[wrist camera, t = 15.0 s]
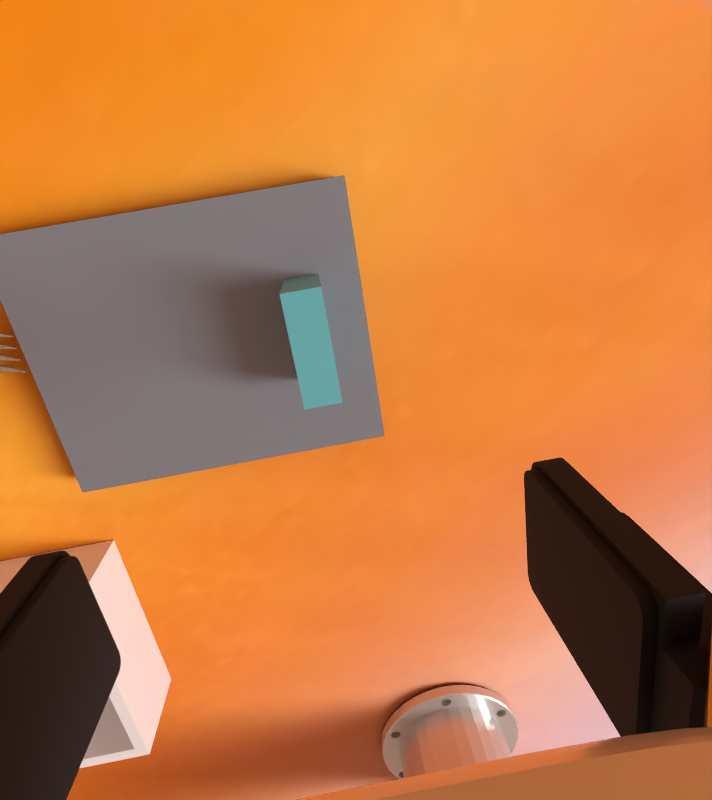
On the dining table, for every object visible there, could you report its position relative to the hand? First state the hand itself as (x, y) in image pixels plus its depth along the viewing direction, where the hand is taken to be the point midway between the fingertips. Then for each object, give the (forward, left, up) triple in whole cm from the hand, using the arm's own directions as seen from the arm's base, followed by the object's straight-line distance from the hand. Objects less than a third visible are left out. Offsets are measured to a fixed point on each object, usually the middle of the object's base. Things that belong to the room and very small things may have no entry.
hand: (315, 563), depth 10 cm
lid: (0, +6, -22) cm, 23 cm away
